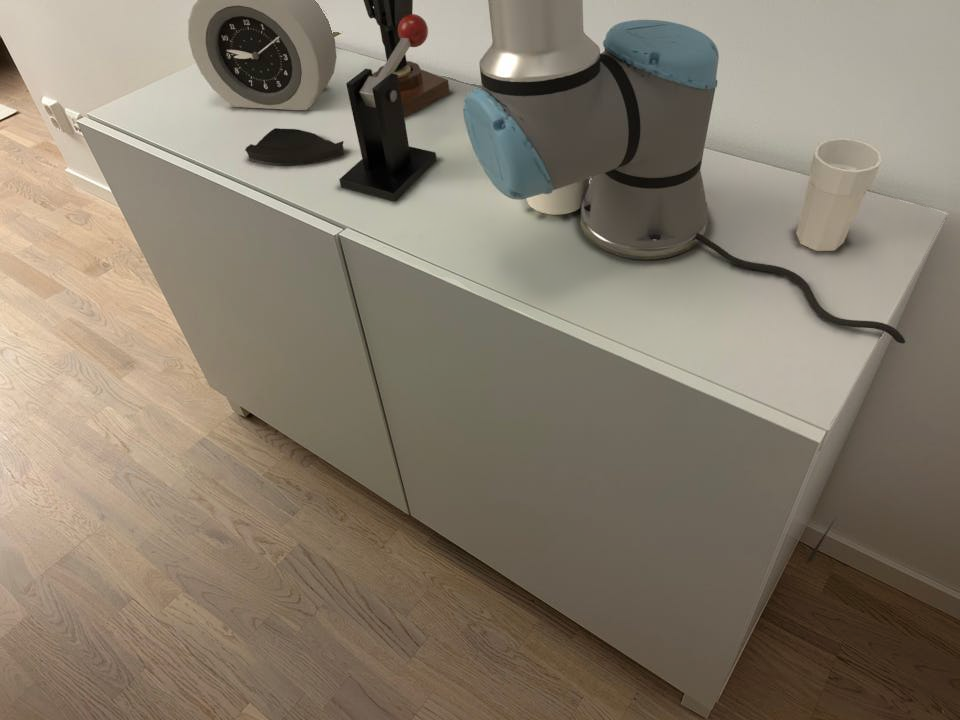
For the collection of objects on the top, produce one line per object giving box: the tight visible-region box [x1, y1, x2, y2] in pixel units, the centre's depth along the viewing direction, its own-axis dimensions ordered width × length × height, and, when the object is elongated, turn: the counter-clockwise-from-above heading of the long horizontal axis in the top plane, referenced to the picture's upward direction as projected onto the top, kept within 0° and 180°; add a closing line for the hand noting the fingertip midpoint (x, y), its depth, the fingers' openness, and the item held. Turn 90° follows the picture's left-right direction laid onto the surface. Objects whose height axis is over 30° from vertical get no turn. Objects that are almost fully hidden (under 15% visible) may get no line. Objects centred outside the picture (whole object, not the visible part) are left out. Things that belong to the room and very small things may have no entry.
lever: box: [359, 13, 429, 108], centre depth 94 cm, size 14×4×4 cm, turn 152°
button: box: [393, 65, 411, 77], centre depth 114 cm, size 4×4×2 cm
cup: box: [795, 137, 883, 252], centre depth 80 cm, size 7×7×11 cm
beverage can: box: [525, 178, 590, 216], centre depth 89 cm, size 8×8×12 cm
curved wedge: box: [244, 127, 345, 166], centre depth 106 cm, size 8×14×2 cm, turn 68°
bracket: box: [338, 68, 437, 202], centre depth 96 cm, size 11×9×14 cm
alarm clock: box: [187, 0, 337, 111], centre depth 111 cm, size 21×8×20 cm, turn 77°
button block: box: [372, 60, 451, 118], centre depth 115 cm, size 12×10×4 cm
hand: (397, 67), depth 113 cm, fingers closed
